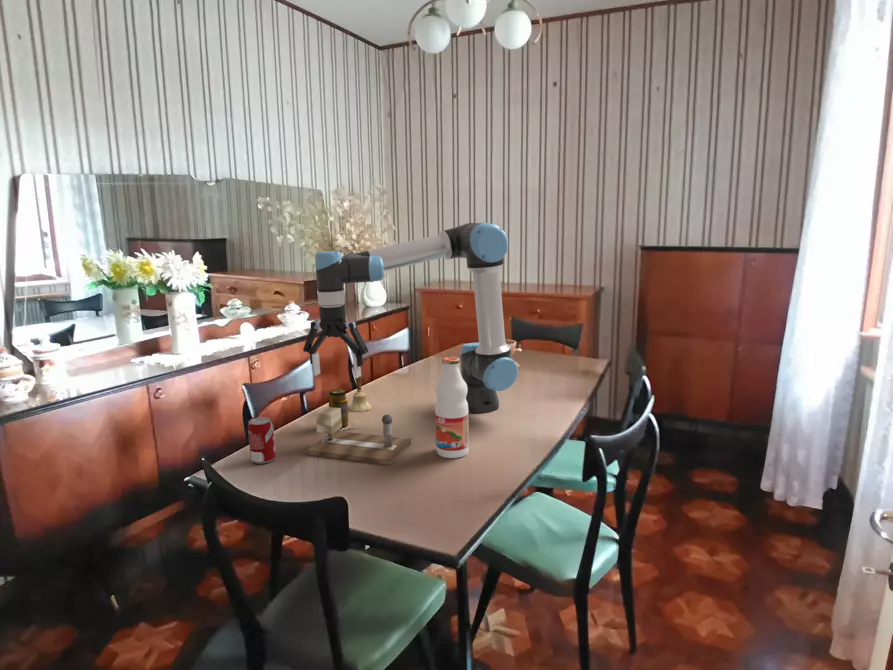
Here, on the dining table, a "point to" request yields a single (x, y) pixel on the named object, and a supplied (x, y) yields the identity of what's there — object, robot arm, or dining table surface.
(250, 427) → the soda can
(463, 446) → the fruit juice
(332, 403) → the condiment
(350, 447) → the hole plate
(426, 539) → the dining table surface
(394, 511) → the dining table surface
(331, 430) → the leg
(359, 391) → the hand bell
